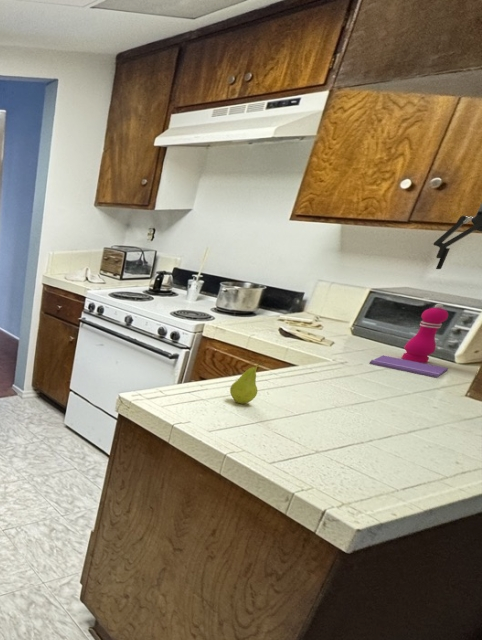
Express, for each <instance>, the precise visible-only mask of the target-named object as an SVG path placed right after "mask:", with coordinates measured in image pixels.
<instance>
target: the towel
mask: <svg viewBox="0 0 482 640" xmlns="http://www.w3.org/2000/svg"><path fill="white" fill-rule="evenodd" d="M368 363H369V364H370V365H373V366H374V365H375V366H379V367H383V368H387V369H388V368H389V369H393V370H398V371H403V372H407V373H412V374H416V373H417V375H422V376H427V377H431V378H436V379H437V378H438V377H439V376H441V375H443V374H445V373H446V372H448V369H449V368H448V367H443V366H440V365H434V364H429V363H419V362H414V361H409V360H404V359H402V358H399V357H394V356H389V355H384V354H383V355H380V356H379V357H376V358H375V359H371V360H370V361H369V362H368Z"/></svg>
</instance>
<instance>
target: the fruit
mask: <svg viewBox="0 0 482 640" xmlns="http://www.w3.org/2000/svg"><path fill="white" fill-rule="evenodd" d="M262 364H264V361H261V362H259V363H258V364H256V365H255V366H251V367H249V368H247V369H246V370H245V371H244V372H243V373H242V374H241V375H240V377H239V378H238V379H237V380H236V381H235V382H233V383H232V384H231V386H230V388H229V390H230V391H229V392H230V393H229V394H230V395H231V397H232V399H233V401H234V402H236V403H237V404H243V405H244V404H248V403H250V402H252V401H253V400H254V399H255V398H256V397H257V395H258V387H257V383H256V380H257V379H256V378H257V369H258V367H259V366H261V365H262Z"/></svg>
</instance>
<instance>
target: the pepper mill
mask: <svg viewBox="0 0 482 640" xmlns="http://www.w3.org/2000/svg"><path fill="white" fill-rule="evenodd" d="M448 317H449V312H448V311H447V310H446V309H444V304H443V303H436V304H435V306H434V307H429V308H427V309H425V310H424V311H422V313H421V319H422V320H420V323H419V326H420V327H419V330H418V331H417V333H416V334H415V335H414V336H413V337H411V338H410V339H409V340H408V341H407V343H405V345H404V350H405V352H403V354H402V355H401V359H404V360H409V361H414V362H419V363H424V364H427V363H428V362H429V359H430V357H429V356H430V355H432V354H433V353H435V351H436V347H437V346H436V345H437V344H436V333H437V331H438V330H439V329H441V327H442V325H443V322H445V321H446V320H448Z"/></svg>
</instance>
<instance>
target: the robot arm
mask: <svg viewBox="0 0 482 640" xmlns="http://www.w3.org/2000/svg"><path fill="white" fill-rule="evenodd" d="M469 222H471V223H472V225H473V226H470V227H469V228H467V229H466V230H464V231H463V232H461V233H459V234H458V235H455V236H454V237H452V238H451V239H448V238H449V237H450V236H451V235H453V234H454V233H455V232H456V231H457V230H458V229H460V228H461V227H462V226H463V225H465V224H467V223H469ZM476 231H477V232H480V233H482V202H481V204H480V205H479V208H478V210H477V211H476V214H475V215H474V216H467V215H461V216H459V218H458V220H457V222H456V223H454V225H452V226H451V227H450V228H449V229H448V230H447V231H446V232H445V233H443V234H442V235H441V236H440V237H439V238H437V240H435V241H434V242H433V246H436V247H438V248H439V249H438V252H437V254H436V257H435V258H436V259H439V260H438V262H437V266H436V267H435V270H441V269H442V268H443V265H444V263H445V261H446V259H447V257H448V254H449V252H450V249H451V248H449V247H450V246H451V245H453V244H455V243H456V242H458V241H461V240H462V239H463V238H465V237H467V236H468V235H470V234H472V233H475V232H476ZM447 239H448V240H447ZM446 240H447V241H446ZM445 241H446V242H445Z"/></svg>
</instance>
